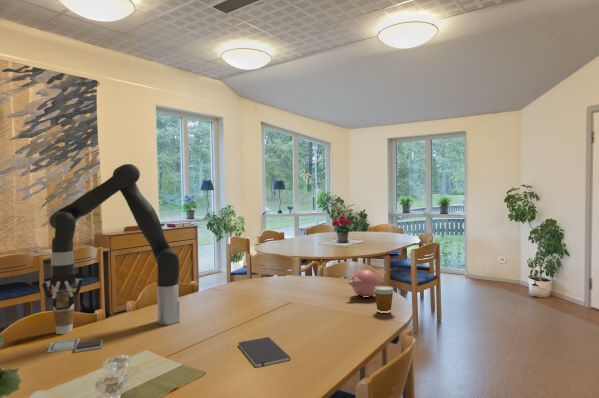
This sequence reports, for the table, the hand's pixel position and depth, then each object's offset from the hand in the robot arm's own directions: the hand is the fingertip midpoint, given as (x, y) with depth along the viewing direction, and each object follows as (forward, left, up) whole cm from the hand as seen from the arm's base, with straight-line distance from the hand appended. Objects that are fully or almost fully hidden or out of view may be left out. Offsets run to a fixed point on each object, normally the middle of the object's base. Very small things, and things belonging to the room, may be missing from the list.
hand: (63, 306), depth 149 cm
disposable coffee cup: (-137, +22, -16) cm, 140 cm away
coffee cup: (+2, -17, -16) cm, 24 cm away
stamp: (0, 0, -1) cm, 1 cm away
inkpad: (-9, +6, -16) cm, 19 cm away
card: (0, 0, -16) cm, 16 cm away
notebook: (-68, +40, -16) cm, 80 cm away
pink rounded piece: (-142, -4, -16) cm, 143 cm away
